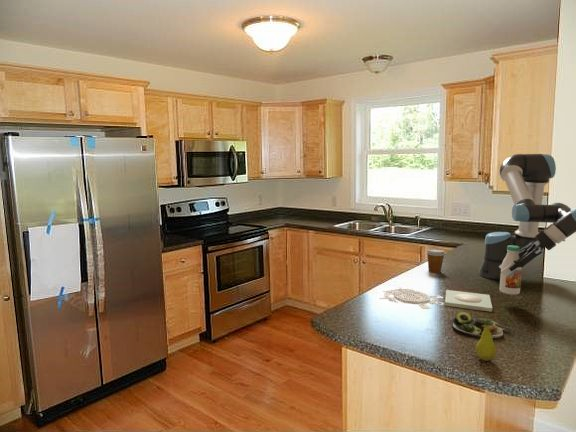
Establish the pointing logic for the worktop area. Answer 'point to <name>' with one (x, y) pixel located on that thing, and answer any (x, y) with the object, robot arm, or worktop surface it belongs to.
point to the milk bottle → (512, 280)
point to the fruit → (486, 345)
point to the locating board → (468, 300)
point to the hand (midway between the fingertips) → (502, 271)
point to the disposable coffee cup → (435, 260)
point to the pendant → (412, 297)
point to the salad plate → (476, 325)
